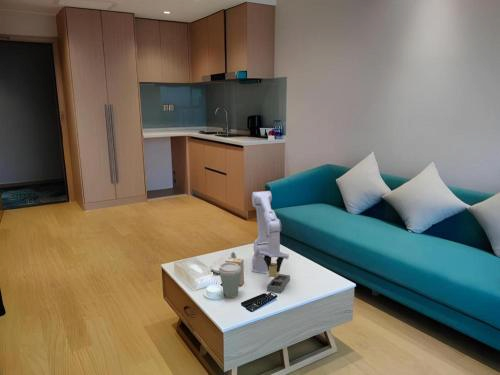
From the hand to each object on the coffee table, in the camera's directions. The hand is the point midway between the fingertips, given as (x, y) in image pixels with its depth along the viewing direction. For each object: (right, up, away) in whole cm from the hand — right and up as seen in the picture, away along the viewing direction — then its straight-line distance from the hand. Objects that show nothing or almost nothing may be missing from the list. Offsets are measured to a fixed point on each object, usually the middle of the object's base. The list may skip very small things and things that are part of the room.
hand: (274, 270), depth 190 cm
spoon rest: (-26, -4, +28) cm, 38 cm away
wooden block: (0, -2, +1) cm, 3 cm away
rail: (+3, -8, +4) cm, 10 cm away
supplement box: (-19, -8, +7) cm, 22 cm away
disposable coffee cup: (-21, -11, -5) cm, 24 cm away
